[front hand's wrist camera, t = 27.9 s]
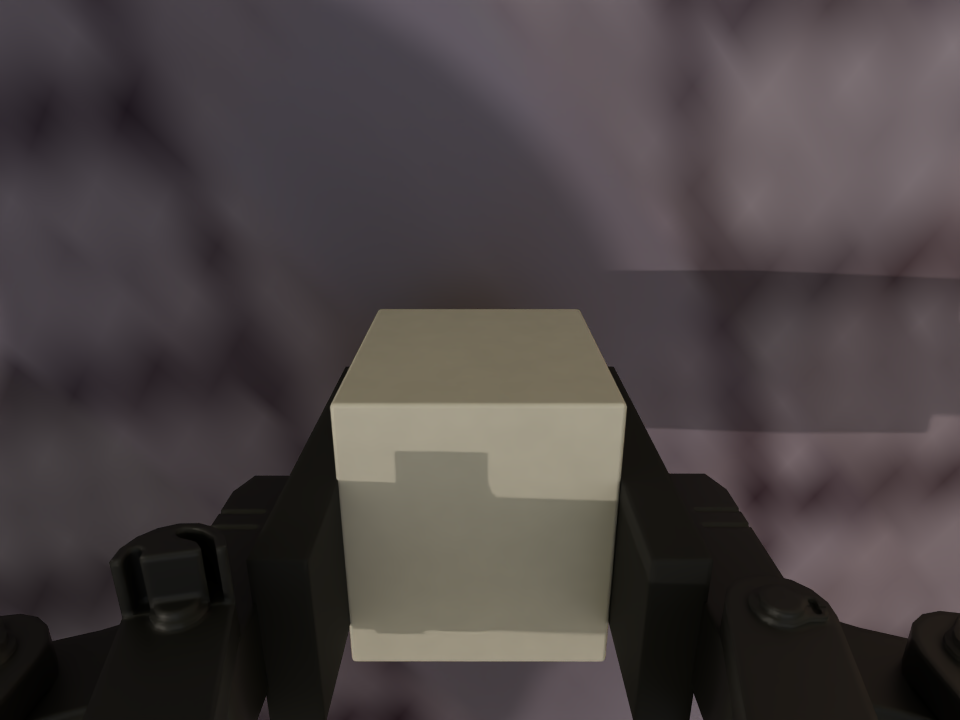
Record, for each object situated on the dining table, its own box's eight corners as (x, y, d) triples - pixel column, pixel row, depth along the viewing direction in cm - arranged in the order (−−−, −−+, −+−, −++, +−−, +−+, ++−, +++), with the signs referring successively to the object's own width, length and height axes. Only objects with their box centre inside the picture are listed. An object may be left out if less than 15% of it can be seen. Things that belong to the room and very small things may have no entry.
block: (580, 308, 14) (628, 404, 9) (569, 502, 16) (605, 663, 11) (378, 308, 14) (328, 404, 9) (388, 502, 16) (351, 663, 11)
